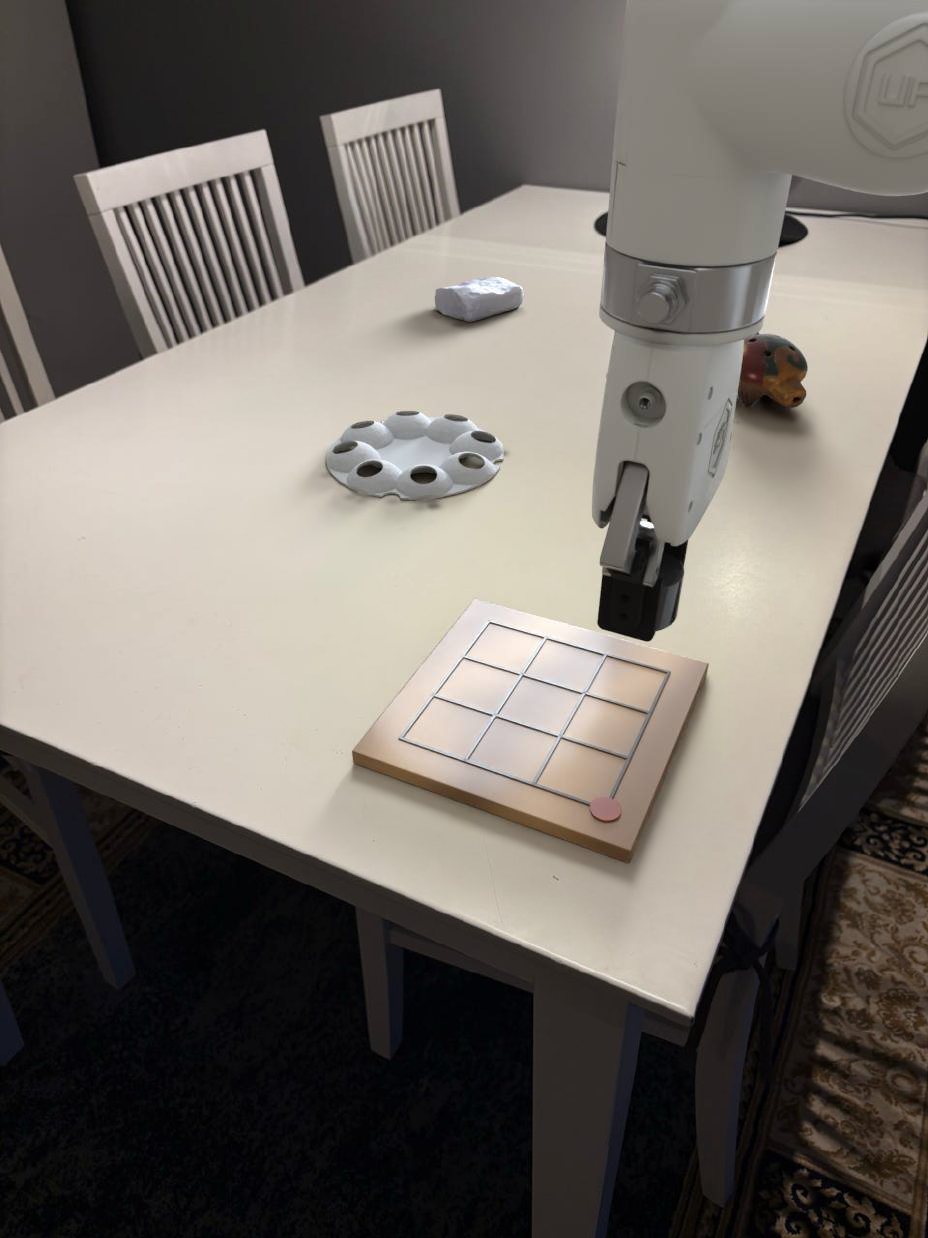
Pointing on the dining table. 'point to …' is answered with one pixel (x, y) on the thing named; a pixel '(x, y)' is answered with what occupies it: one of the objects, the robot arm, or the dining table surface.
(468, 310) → the block
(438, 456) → the round palette
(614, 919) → the dining table surface
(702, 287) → the robot arm
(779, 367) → the decorative turtle
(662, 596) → the grey metallic short cylinder
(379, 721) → the game board
